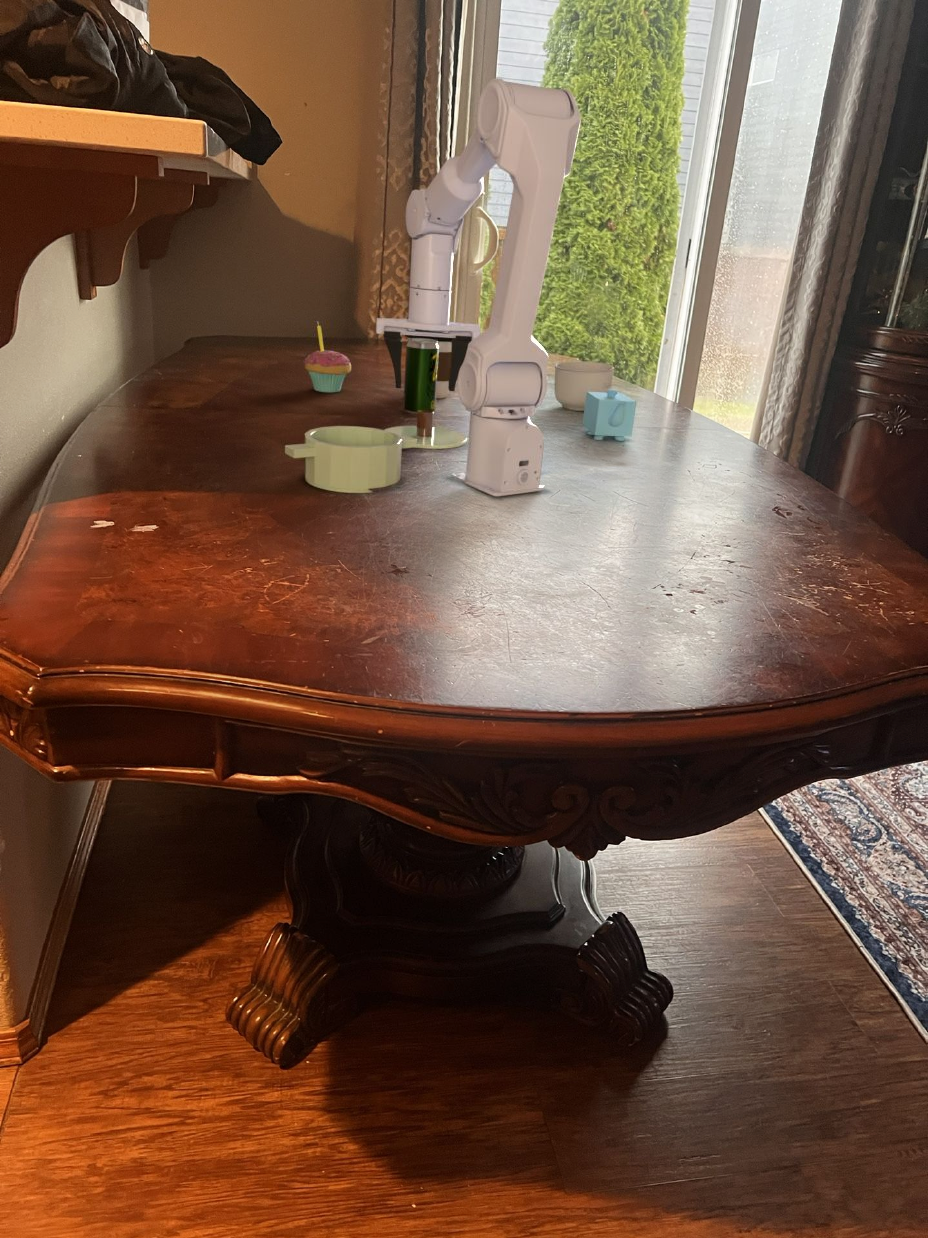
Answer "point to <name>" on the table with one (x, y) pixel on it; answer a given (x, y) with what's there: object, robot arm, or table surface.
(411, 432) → the pale green pot lid
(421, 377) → the beer can
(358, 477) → the pale green cooking pot
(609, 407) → the teapot
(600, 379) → the teacup
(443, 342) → the coffee cup
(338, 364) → the cupcake
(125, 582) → the table surface
